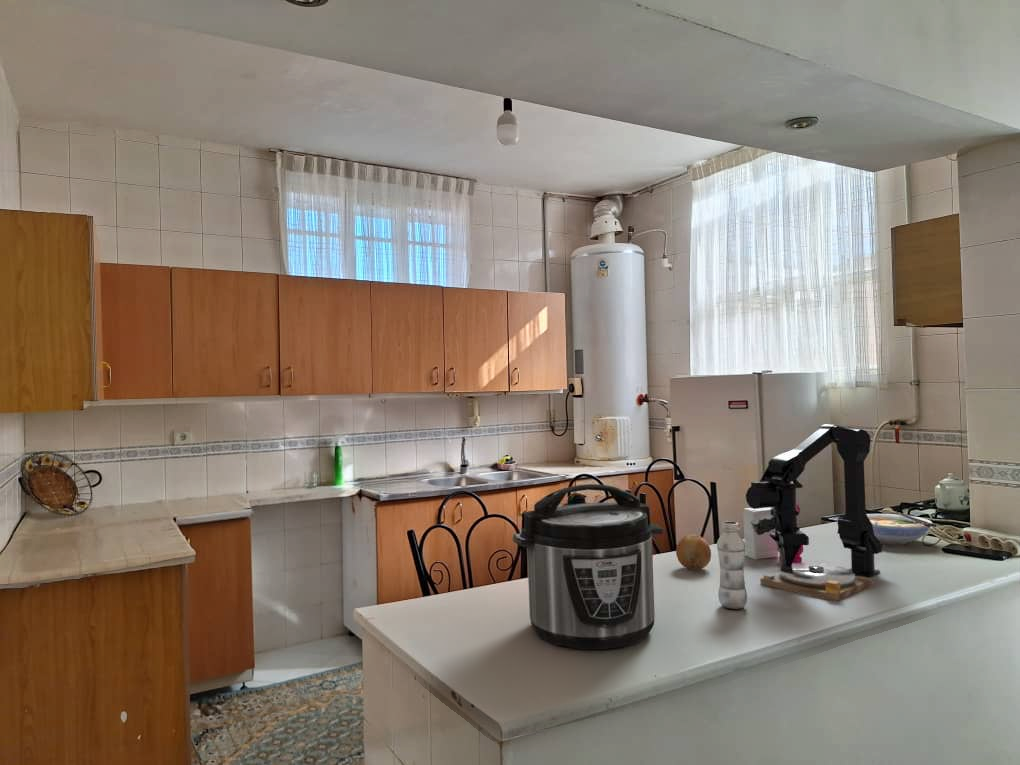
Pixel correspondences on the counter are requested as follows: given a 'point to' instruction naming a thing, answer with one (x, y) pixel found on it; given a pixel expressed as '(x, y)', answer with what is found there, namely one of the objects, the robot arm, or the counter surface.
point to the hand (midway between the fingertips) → (786, 565)
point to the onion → (693, 552)
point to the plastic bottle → (731, 567)
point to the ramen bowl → (898, 527)
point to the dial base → (830, 592)
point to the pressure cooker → (590, 568)
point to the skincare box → (758, 536)
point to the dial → (814, 573)
